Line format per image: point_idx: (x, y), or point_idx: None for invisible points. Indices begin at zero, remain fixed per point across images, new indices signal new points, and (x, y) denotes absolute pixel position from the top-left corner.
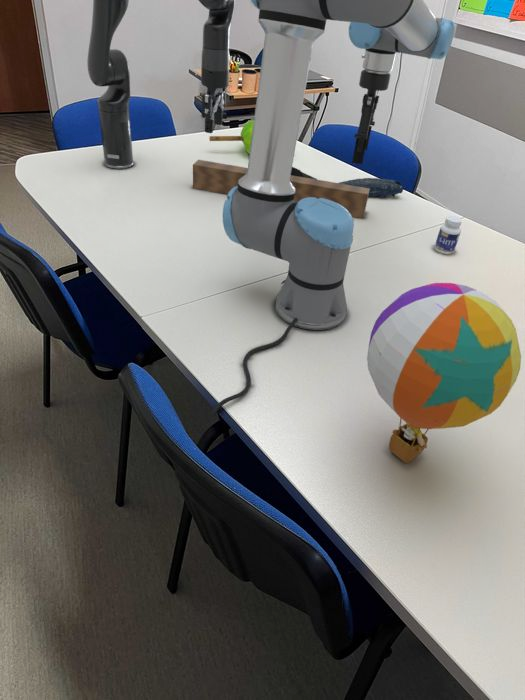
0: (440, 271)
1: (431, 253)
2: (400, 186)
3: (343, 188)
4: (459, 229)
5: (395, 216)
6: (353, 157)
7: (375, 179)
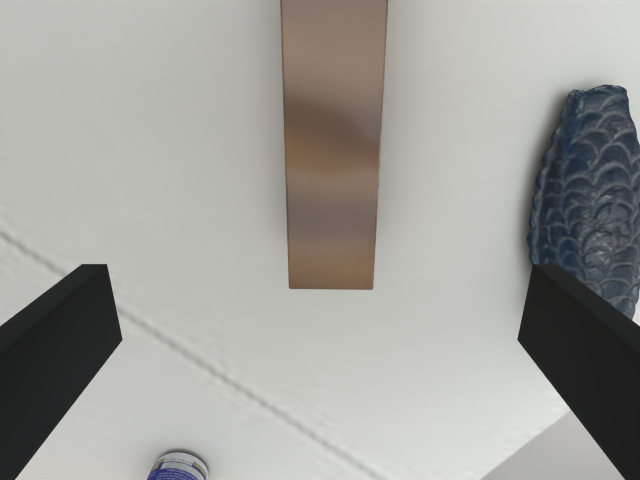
0: (51, 458)
1: (143, 442)
2: None
3: (309, 160)
4: None
5: (369, 347)
6: (54, 290)
7: (618, 284)
